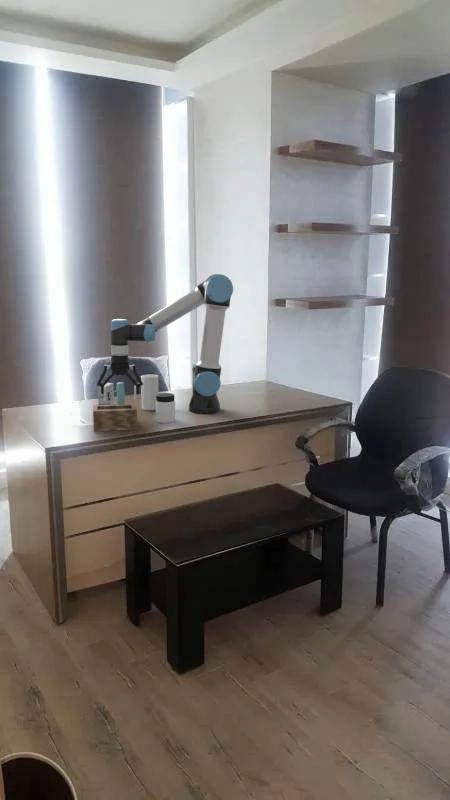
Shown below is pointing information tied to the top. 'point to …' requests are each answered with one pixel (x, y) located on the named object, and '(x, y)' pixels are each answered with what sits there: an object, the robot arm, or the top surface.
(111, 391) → the ink box
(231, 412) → the top surface
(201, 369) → the robot arm
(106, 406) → the socket
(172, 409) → the jar
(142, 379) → the cup
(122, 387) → the peg
